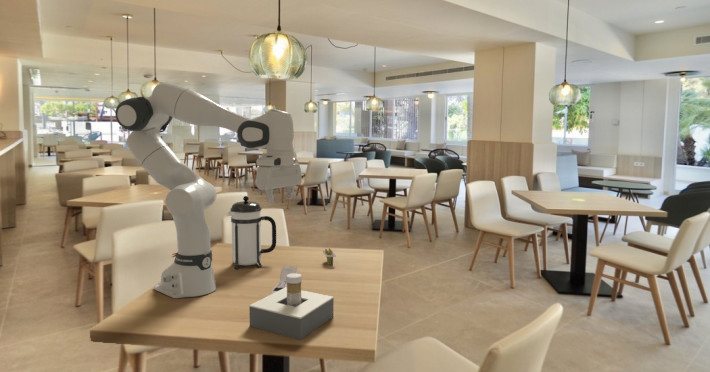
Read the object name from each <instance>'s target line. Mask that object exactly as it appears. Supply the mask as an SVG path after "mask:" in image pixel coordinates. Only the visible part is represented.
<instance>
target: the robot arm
mask: <svg viewBox="0 0 710 372" xmlns="http://www.w3.org/2000/svg"><path fill="white" fill-rule="evenodd" d="M114 112H115V113H114V115H115V119H116V121H117V124H118V125H120V127H121V128H123V129H124V130H127V131H131V132H130V133H129V134H128V136H127V138H126V144H127V147H128V148H129V151H130V152H131V154H132V155H133V156H134V158H135V159H136V161H137V162H138V163H139V164H140V165H141V166H142V167H143V169H144V170H145V171H146V172H147V174H149V176H150V177H151V178H152V179H153V180H154V181H155V183H157V184H158V185H161V186H163V187H164V188H166V189H168V190H169V192H168V193H167V195H166V196H165V201H164V202H165V208H166V209H167V211H168V212H169V213H170V214H171V216H172V218H173V222H174V226H175V231H176V241H177V244H176V245H177V252H175V253H172V256H171V257H172V258H174V261H173V263H172V264H170V265H169V266H168V267H166V268H165V269H164V270H163V271H162V272H161V274H160V275H161V276H160V277H161V278H160V282H159V283H157V284H155V285H154V286H153V290H155V291H157V292H159V293H161V294H164V295H166V296H168V297H170V298H173V299H180V298H190V297H191V298H192V297H193V298H194V297H199V296H200V297H201V296H204V295H208V294H210V293H213V292H214V291H216V290H217V286H216V284H217V281H216V279H215V274H214V268H213V263H212V262H213V250H212V249H211V229H210V227H209V226H208V224H207V221H206V218H205V210H207V209H209V208H210V207H212V206H213V204H214V203H215V201H216V199H217V193H218V192H217V189H216V187H215V186H214V185H213V184H212V183H210V182H209V181H206V180H205V179H204V178H203V177H202V176H200V175H199V174H198V173H197V172H195V171H194V170H193V169H191V168H190V167H189V166H188V165H187V164H186V163H184V162H183V161H182V159H180V158H179V156H178V155H177V154H176V153H175V152H174V151H173V150H172V149H171V147H170V146H169V145H168V144H167V143H166V142H165V140H164V139H163V138H162V137H161V135H160V133H161V134H162V133H163V132H165V131H166V130H167V127H168V125H169V124H170V123H171V122H172V120H173V118H174V119H176V120H178V121H180V122H182V123H187V124H190V125H194V126H197V127H198V126H199V127H200V126H201V127H202V126H203V127H216V128H217V127H218V128H223V129H226V130H229V131H230V132H231V131H232V132H233V133H236V136H237V139H238V140H237V141H238V142H239V144H240V145H242V147H245V148H246V149H251V150H255V149H256V150H260V149H262V150H263V149H264V150H266V153H265V154H263V155H262V156H260V157H258V158H257V159H256V166H258V167H257V169H256V187H257V188H258V190H260V191H265V194H266V196H267V202H268V203H269V204H274V203H276V197H275V196H274V194H273V193H274V189H280V188H287V190H286V191H287V192H286V194H285V199H286V200H292V199H293V195H294V191H295V186H300V185H301V183H302V171H301V170H302V169H301V165H300V163H299V160H298V159H297V158H295V154H294V153H295V148H294V145H293V143H294V142H293V141H294V136H295V135H294V133H295V131H294V130H295V129H294V123H293V122H294V121H293V117H292V115H291V114H290V113H289V112H288V111H283V110H280V109H275V108H274V109H268V110H267V111H266V112H265V113H263V114H262V115H259V116H257V117H255V118H249V117H246V116H244V115H241V114H239V113H236V112H234V111H231V110H229V109H227V108H225V107H223V106H222V105H220V104H218V103H216V102H215V101H213V100H211V99H210V98H208V97H207V96H205V95H203V94H201V93H199V92H197V91H195V90H193V89H190V88H188V87H185V86H183V85H179V84H175V83H172V82H167V81H165V82H160V83H158V84H157V85H156V86H155V87H154V88H153V90H152V92H151V95H150V96H138V97H131V98H127V99H125V100H123V101H120V102H119V103H118V105H117V106H116V108H115V111H114Z"/></svg>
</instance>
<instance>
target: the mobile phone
mask: <svg viewBox="0 0 710 372" xmlns="http://www.w3.org/2000/svg"><path fill="white" fill-rule="evenodd" d="M297 271H298V266H282V268H281V271H280V277H279V281H278V282H277V284H276V285H275V286H274V287H273V289H272V290H271V292H270V294H269V295H271V294H273V293H275V292H277V291H279V290H281V289H283V288H285V287H287V282H286V276H287V275H288V274H292V273H297Z"/></svg>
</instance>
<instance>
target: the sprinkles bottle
mask: <svg viewBox="0 0 710 372" xmlns="http://www.w3.org/2000/svg"><path fill="white" fill-rule="evenodd" d="M302 281H303V277H302V274H301V273H297V272H296V273H292V274H288V275H287V276H286V282H287V305H289V306H293V307H296V306H298V305H300V304H302V298H301V290H302Z"/></svg>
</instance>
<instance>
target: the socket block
mask: <svg viewBox="0 0 710 372" xmlns="http://www.w3.org/2000/svg"><path fill="white" fill-rule="evenodd" d="M270 294H271V293H270ZM270 294H269V295H267V296H265V297H264V298H261V299H259V300H257V301H255V302H253V303H251V304H249V309H248V310H249V327H251V328H255V329H259V330H262V331H267V332H271V333H274V334H277V335H281V336H285V337H289V338H293V339H297V340H302V339H304V338H305V337H306V336H308V335H309V334H311V333H312V332H314V331H315V330H317V329H318V328H320V327H321V326H322V325H324V324H325V323H327V322H328V321H330V320H331V319H332V318H334V298H335V297H334V296H333V295H332V296H331V295H326V294H321V293H318V292H312V291H306V290H302V289H301V298H302V304H300V305H298V306H296V307H293V306H289V305H287V287H285V288H283V289H281V290H279V291H277V292H275V293H273V294H271V295H270Z"/></svg>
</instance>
